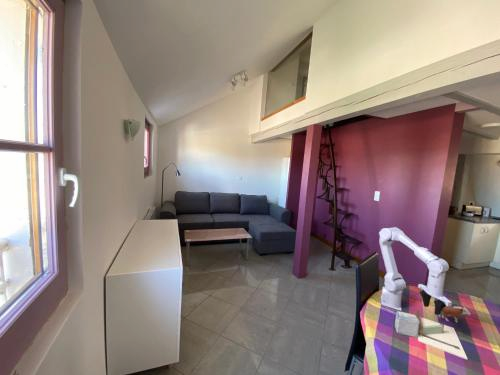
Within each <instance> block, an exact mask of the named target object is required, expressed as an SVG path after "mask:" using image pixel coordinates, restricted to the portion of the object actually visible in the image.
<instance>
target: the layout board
mask: <svg viewBox="0 0 500 375" xmlns="http://www.w3.org/2000/svg"><path fill="white" fill-rule="evenodd" d="M419 317H420V321H421V326H431V325H440V324H441V323H440V322H436V321H434V320H432V319H431V320H430V319H427V318H424V317H422V316H419ZM443 325H444V330H443V333H433V334H422V335H419V334H417V340H418V342H420V343H422V344H425V345H427V346H430V347H431V348H432V347H433V348H434V349H435V348H436V349H438V350H440V351H443V352H446V353H448V354H451V355H453V356H456V357H459V358H461V359H464V360H468V357H467V354H466V352H465V350H464V348H463V346H462V343H461V341H460V339H459V337H458V335H457V333H456V331H455V328H454V327H452V326H449V325H445V324H443Z"/></svg>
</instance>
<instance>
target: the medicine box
mask: <svg viewBox="0 0 500 375" xmlns="http://www.w3.org/2000/svg"><path fill="white" fill-rule="evenodd" d="M418 327H419V320H418V319H417V317H416V315H415V314H412V313H409V312H404V311H399V310H396V312H395V321H394V328H395V331H396V333H397V334H400V335H404V336H409V337H412V338H416V339H418V337H417V334H418Z"/></svg>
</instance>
